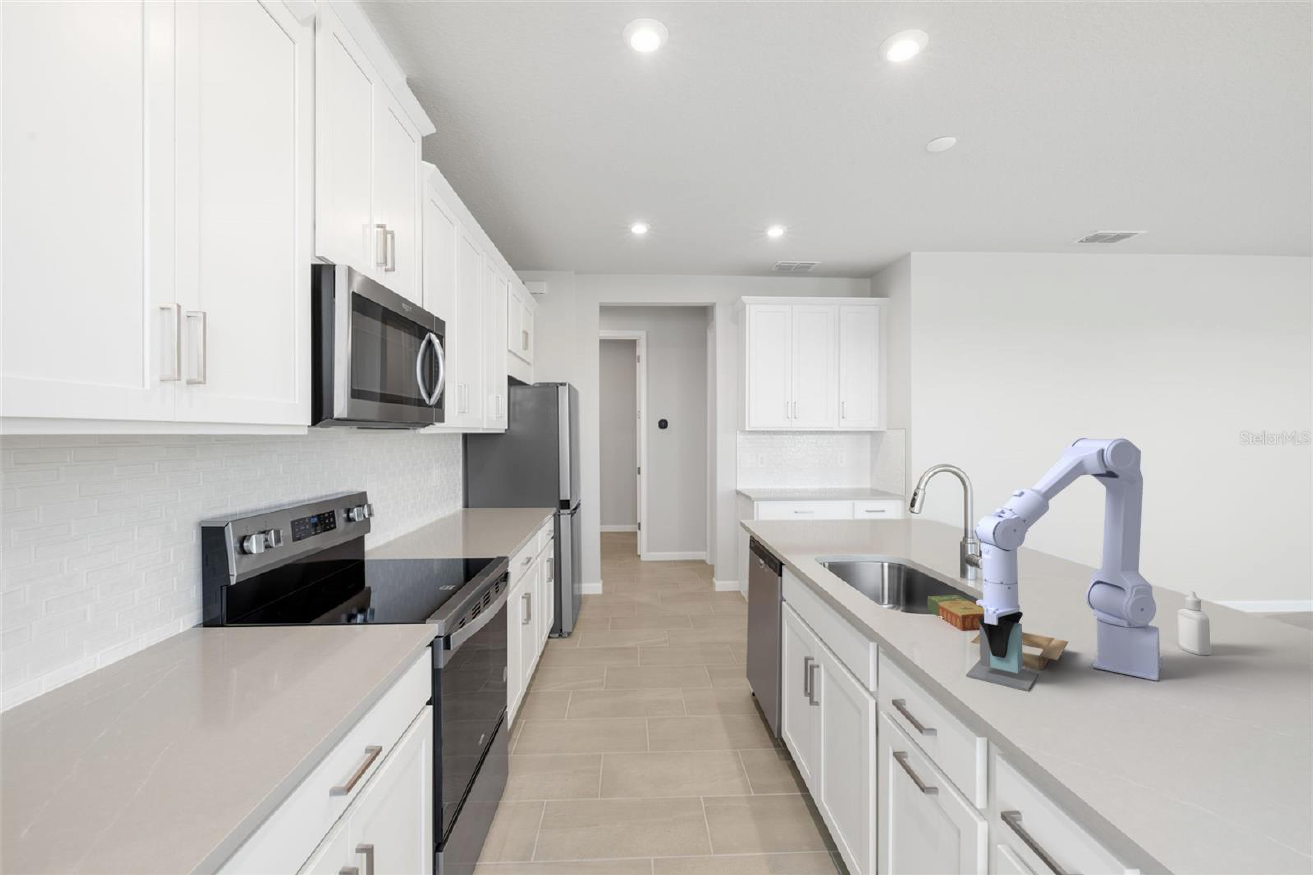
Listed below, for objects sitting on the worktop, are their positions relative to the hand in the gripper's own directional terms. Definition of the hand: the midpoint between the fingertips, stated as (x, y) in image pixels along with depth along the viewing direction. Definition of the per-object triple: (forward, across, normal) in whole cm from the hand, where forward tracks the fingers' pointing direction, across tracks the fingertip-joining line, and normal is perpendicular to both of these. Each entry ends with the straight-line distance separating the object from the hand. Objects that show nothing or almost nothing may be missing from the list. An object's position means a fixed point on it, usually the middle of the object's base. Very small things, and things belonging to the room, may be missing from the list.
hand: (1001, 652), depth 109 cm
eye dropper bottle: (+4, -37, +26) cm, 45 cm away
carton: (+5, -30, -16) cm, 34 cm away
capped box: (+2, 0, 0) cm, 2 cm away
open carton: (+4, -14, 0) cm, 15 cm away
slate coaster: (+4, 0, 0) cm, 4 cm away
